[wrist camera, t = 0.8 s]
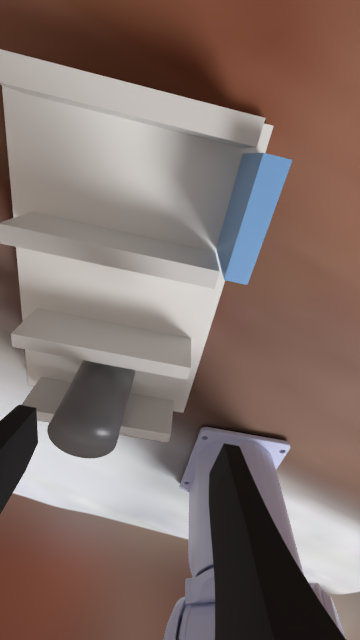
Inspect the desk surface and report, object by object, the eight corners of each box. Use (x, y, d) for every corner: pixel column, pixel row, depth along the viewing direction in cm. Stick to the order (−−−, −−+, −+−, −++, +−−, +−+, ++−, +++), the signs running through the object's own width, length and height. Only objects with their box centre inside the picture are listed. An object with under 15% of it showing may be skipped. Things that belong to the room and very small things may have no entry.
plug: (133, 386, 21) (113, 462, 16) (84, 377, 21) (48, 452, 16) (139, 348, 19) (119, 419, 14) (86, 337, 19) (46, 407, 14)
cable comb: (183, 403, 23) (181, 467, 18) (34, 376, 22) (-9, 436, 17) (268, 127, 13) (309, 112, 9) (12, 61, 13) (-97, 5, 8)
